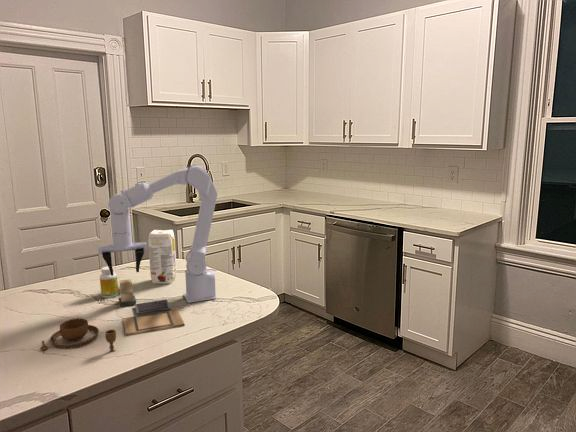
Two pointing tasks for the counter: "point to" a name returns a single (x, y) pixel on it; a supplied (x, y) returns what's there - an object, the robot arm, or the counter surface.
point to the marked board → (152, 322)
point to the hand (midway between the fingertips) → (124, 273)
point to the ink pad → (152, 307)
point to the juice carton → (162, 256)
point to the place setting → (78, 334)
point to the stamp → (126, 293)
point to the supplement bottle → (108, 283)
